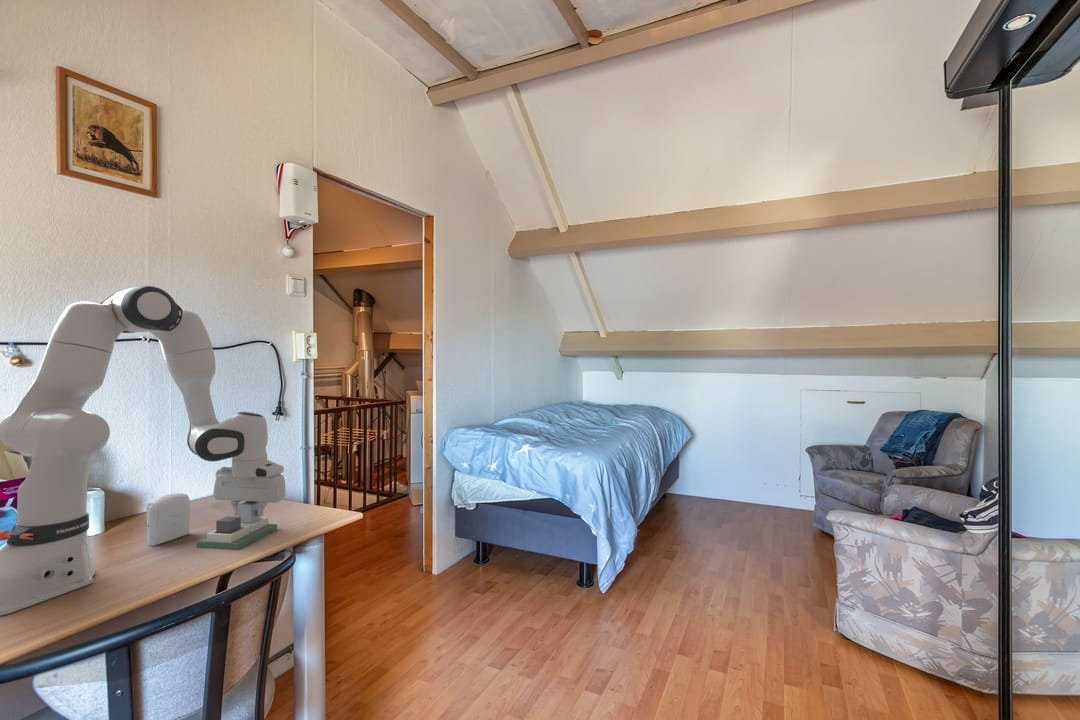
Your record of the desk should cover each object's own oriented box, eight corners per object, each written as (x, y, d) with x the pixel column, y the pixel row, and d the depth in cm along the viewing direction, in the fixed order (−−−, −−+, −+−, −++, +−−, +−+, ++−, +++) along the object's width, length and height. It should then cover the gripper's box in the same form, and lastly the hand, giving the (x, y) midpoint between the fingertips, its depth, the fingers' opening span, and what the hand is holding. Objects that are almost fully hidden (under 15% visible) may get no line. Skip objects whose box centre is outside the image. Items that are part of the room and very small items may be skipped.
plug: (250, 530, 140) (251, 503, 140) (237, 529, 140) (238, 502, 140) (259, 525, 144) (260, 499, 144) (247, 524, 144) (247, 498, 144)
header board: (238, 549, 129) (238, 524, 129) (196, 547, 131) (196, 522, 131) (277, 529, 145) (277, 507, 145) (239, 526, 147) (239, 505, 147)
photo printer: (154, 547, 130) (155, 500, 130) (143, 545, 132) (143, 498, 132) (192, 534, 140) (192, 490, 140) (181, 532, 142) (182, 489, 142)
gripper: (208, 469, 140) (207, 517, 140) (275, 471, 138) (274, 521, 138) (224, 464, 146) (223, 510, 146) (289, 467, 144) (288, 514, 144)
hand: (248, 515), depth 142 cm, fingers open, 5 cm apart
